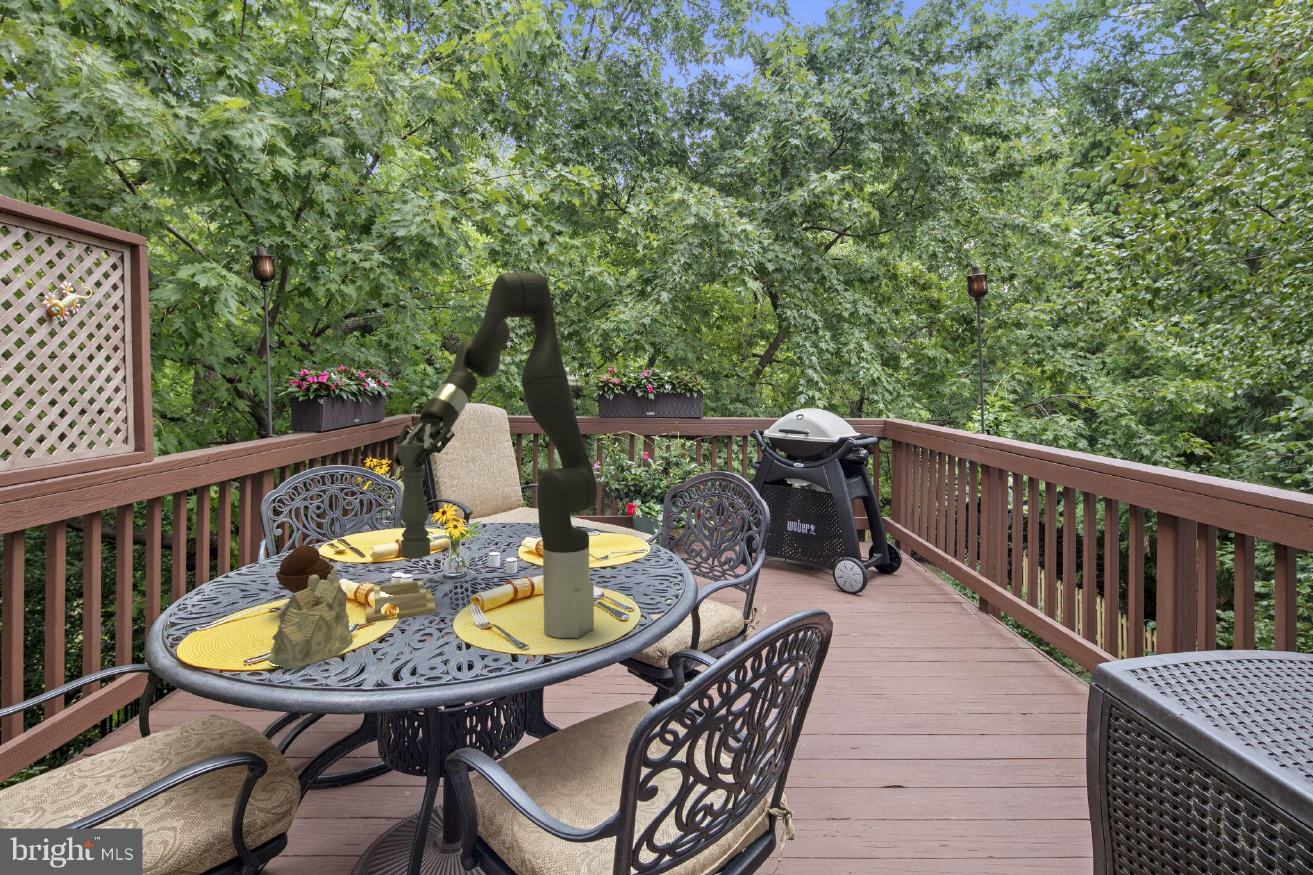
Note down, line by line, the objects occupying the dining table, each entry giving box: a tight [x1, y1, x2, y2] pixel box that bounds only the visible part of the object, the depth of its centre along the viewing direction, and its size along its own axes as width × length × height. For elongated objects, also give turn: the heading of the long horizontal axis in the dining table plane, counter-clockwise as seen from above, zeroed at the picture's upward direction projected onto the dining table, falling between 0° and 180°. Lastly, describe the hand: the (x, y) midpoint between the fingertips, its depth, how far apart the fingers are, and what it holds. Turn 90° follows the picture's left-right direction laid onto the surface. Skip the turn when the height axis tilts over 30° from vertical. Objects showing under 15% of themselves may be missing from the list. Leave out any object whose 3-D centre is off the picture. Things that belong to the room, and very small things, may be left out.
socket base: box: [365, 579, 437, 623], centre depth 144 cm, size 14×14×4 cm
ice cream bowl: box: [275, 544, 335, 594], centre depth 140 cm, size 11×11×15 cm
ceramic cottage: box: [267, 568, 354, 670], centre depth 121 cm, size 16×16×15 cm
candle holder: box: [398, 442, 431, 560], centre depth 143 cm, size 6×6×25 cm
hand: (406, 464), depth 141 cm, fingers closed on candle holder, 5 cm apart
